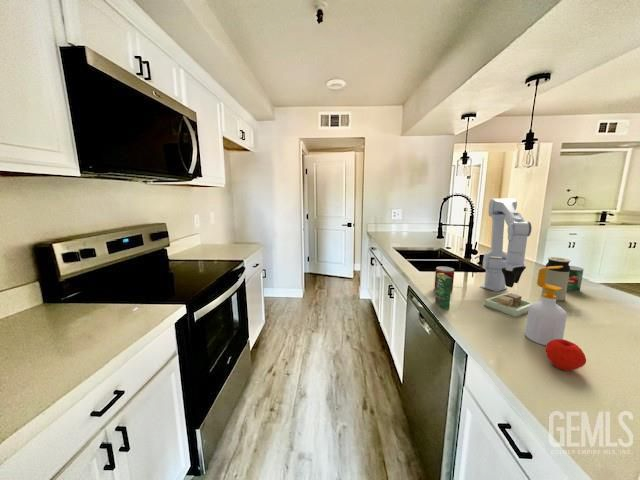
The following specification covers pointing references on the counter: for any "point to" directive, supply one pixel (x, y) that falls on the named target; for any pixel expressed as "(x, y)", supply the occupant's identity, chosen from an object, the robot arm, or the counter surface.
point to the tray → (508, 310)
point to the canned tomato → (574, 279)
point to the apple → (565, 354)
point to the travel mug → (557, 276)
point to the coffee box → (443, 290)
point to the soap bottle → (546, 314)
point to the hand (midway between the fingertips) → (511, 284)
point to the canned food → (446, 271)
